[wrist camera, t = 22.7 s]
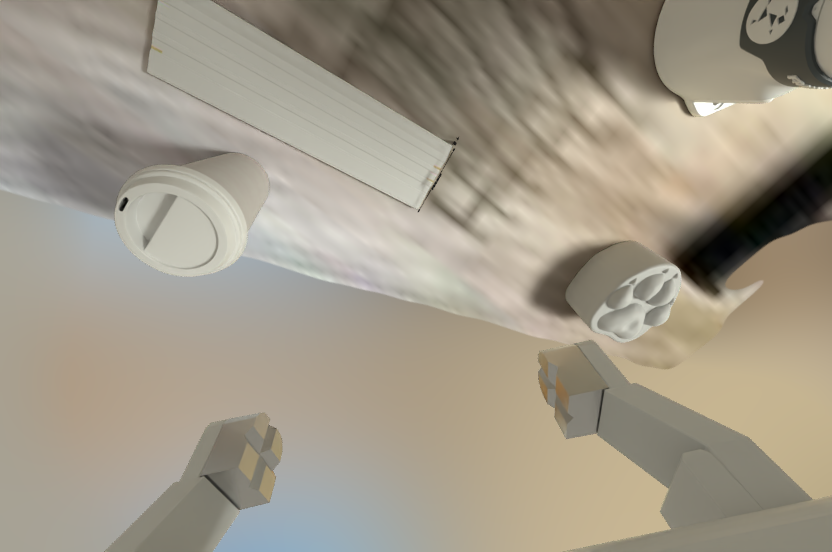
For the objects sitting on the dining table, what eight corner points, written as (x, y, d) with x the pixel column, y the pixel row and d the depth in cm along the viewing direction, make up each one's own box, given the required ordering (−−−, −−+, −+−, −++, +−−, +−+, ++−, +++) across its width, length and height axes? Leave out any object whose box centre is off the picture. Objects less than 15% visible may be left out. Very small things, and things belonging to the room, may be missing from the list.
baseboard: (174, -44, 29) (155, 73, 33) (155, -54, 27) (137, 72, 31) (458, 133, 39) (416, 206, 43) (463, 137, 36) (418, 214, 41)
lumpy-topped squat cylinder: (556, 297, 52) (585, 333, 45) (614, 228, 47) (658, 256, 40) (602, 318, 56) (637, 355, 48) (662, 255, 50) (711, 286, 43)
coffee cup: (247, 122, 36) (174, 147, 23) (299, 199, 40) (264, 256, 28) (175, 162, 37) (68, 207, 24) (234, 232, 42) (172, 301, 29)
